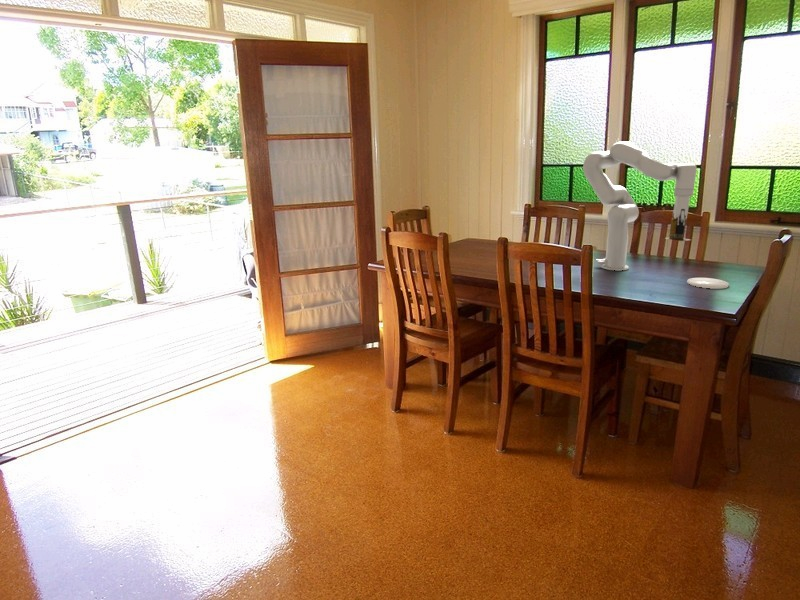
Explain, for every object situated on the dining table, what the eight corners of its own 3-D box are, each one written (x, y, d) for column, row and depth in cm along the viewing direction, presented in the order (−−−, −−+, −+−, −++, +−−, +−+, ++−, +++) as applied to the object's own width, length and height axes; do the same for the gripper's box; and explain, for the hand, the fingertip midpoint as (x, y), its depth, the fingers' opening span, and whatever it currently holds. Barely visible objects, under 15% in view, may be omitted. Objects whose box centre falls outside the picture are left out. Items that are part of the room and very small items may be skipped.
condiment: (675, 237, 250) (678, 211, 247) (691, 240, 243) (695, 213, 239) (664, 238, 247) (667, 212, 244) (680, 241, 240) (684, 214, 236)
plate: (689, 287, 235) (690, 285, 234) (685, 278, 249) (685, 276, 249) (731, 290, 229) (732, 287, 229) (724, 281, 243) (724, 278, 243)
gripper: (672, 190, 248) (667, 229, 254) (676, 194, 233) (671, 235, 238) (690, 190, 246) (685, 230, 251) (696, 194, 230) (690, 236, 236)
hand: (678, 232), depth 245 cm, fingers closed on condiment, 6 cm apart
